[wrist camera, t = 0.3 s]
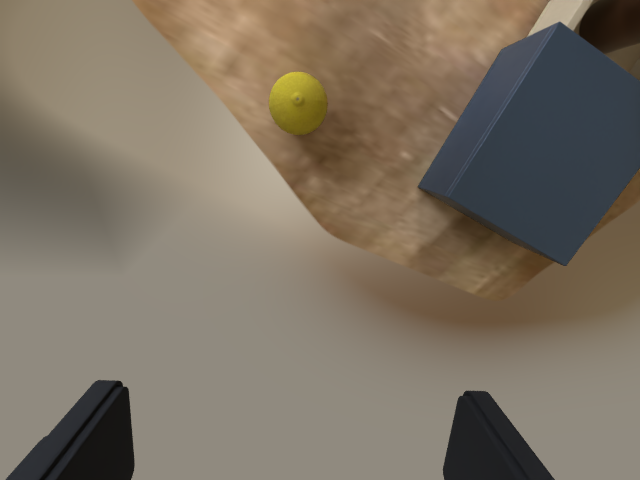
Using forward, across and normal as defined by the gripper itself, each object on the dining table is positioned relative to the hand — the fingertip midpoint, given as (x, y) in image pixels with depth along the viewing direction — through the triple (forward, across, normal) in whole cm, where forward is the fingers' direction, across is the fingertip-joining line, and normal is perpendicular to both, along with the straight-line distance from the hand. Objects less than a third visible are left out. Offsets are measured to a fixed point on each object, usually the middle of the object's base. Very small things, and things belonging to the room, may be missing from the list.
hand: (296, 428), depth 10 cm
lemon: (+31, +1, -12) cm, 33 cm away
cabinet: (+31, -23, -9) cm, 40 cm away
